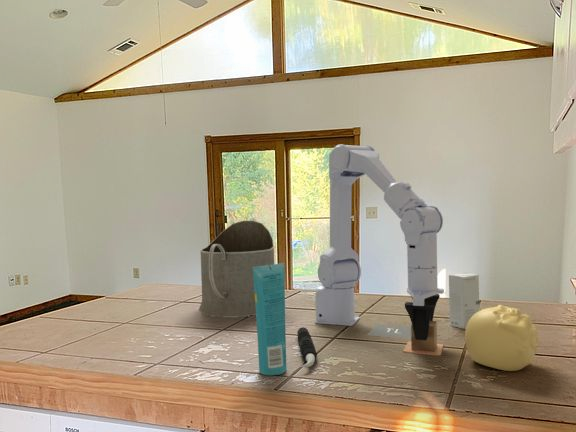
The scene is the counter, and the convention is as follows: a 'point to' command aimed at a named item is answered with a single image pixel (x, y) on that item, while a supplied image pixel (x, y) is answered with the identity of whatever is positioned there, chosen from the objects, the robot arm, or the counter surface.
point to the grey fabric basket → (234, 269)
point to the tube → (270, 317)
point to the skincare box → (463, 298)
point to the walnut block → (425, 344)
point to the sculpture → (501, 338)
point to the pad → (437, 351)
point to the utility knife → (306, 347)
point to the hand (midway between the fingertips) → (423, 334)
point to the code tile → (391, 331)
